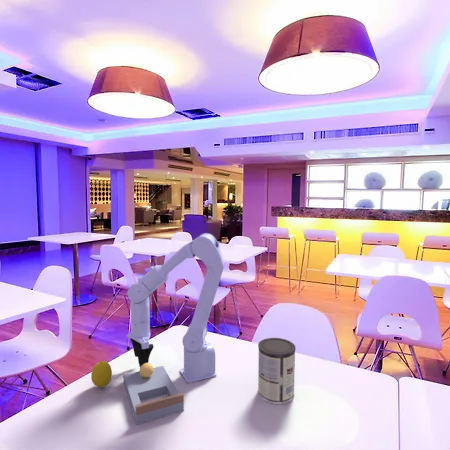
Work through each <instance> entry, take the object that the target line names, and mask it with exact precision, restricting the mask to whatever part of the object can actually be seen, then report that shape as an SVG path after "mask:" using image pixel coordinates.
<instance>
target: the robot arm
mask: <svg viewBox="0 0 450 450" xmlns="http://www.w3.org/2000/svg"><path fill="white" fill-rule="evenodd" d="M195 257H197V258H198V259H200V260H201V262H202V263H203V264H204V265H205V266H206V269H207V271H206V273H205V276H204V277H205V278H204V280H203V283H202V287H201V290H200V294H199V297H198V301H197V304H196V308H195V311H194V314H193V316H192V319H191V322H190V323H189V325H188V327H187V330H186V332H185V334H184V335H183V337H182V345H183V368H180V369H179V372H180V373H181V376H182V377H183V378H184V379H185V382H186V383H188V384H190V383H194V382H199V381H202V380H205V379H209V378H213V377H216V376H217V373H216V351H215V348H214V345H213V344H212V343H211V342H207V341H206V337H207V334H208V325H207V324H208V321H209V317H210V313H211V311H212V309H213V308H212V307H213V304H214V301H215V298H216V294H217V291H218V289H219V284H220V281H221V278H222V274H223V272H224V268H225V261H224V259H223V258H224V256H223V255H222V251H221V247H220V243H219V242H218V240H217V239H216V237H215V236H214V235H213V234H211V233H208V232H205V233H202V234H200V235H199V236H197V237H195V238H194V239H193V240H191V241H190V242H188V243H185V245H183V246H182V247H180V248H179V250H178V251H176V252H175V253H174V254H173V255H172V256H171V257H170V258H169V259H167V260H166V261H165V262H164V263H163V264H162V265H161V264H159V265H158V264H157V265H154V266H153V265H151V266H150V267H149V268H148V271H147V272H146V273H145V274H144V275H143V276H140V277H138V278H137V282H135V283H134V284H131V286H130V287H129V288H128V289H127V298H128V300H129V301H130V333H127V335H126V337H127V339H129V340H130V341H131V344H132V349H133V353H134V356H135V358H137V360H138V361H137V362H138V365H139V368H140V367H141V366H142V365H143V364H144V363H149V360H150V355H151V353H152V351H153V349H154V347H155V346H154V345H153V343H150V338H151V327H150V324H151V320H150V316H151V315H150V314H151V313H150V312H151V311H150V296H151V295H152V293H153V292H155V291H157V289H159V288H160V286H162V285H164V283H165V282H167V281H168V279H169V274H170V272H172V271H173V270H174V269H175V268H176V267H178V266H179V265H181V264H182V263H183V262H184V261H186V259H194V258H195Z"/></svg>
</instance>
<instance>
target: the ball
mask: <svg viewBox="0 0 450 450" xmlns="http://www.w3.org/2000/svg"><path fill="white" fill-rule="evenodd" d="M153 368H154V365H152V364H151V363H150V362H148V363H144V364H143V365H142V366H141V367H140V366H139V371H140V375H141V376H142V377H144V378H147V377H150V376H151V375H152V373H153Z"/></svg>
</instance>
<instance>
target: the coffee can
mask: <svg viewBox="0 0 450 450" xmlns="http://www.w3.org/2000/svg"><path fill="white" fill-rule="evenodd" d="M257 345H258V346H257V347H258V371H257V372H258V380H257V381H258V383H257V384H258V388H257V393H258V396H259V397H260V399H262V400H263V401H265V402H266V403H269V404H271V405H272V404H274V405H286V404H289V403H290V402H292V401H293V400H294V398H295V370H296V369H295V368H296V367H295V366H296V363H295V361H296V359H295V358H296V344H295V343H293V342H292V341H290V340H288V339H285V338H281V337H269V338H264V339H262V340H260V341H259V342H258V343H257Z"/></svg>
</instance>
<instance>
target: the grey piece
mask: <svg viewBox="0 0 450 450" xmlns="http://www.w3.org/2000/svg"><path fill="white" fill-rule="evenodd" d="M122 377H123V380H122V381H123V385H124V389H125V391H126V395H127V400H128V401H129V404H130V407H131V411H132V415H133V417H134V421H135V424H136V425H142V424H144V423H147V422H151V421H155V420H158V419H161V418H165V417H167V416H171V415H174V414H177V413H182V412H184V410H185V408H184V407H185V404H184V403H185V402H184V401H185V399H184V397H185V395H184V393H183V392H179V391H178V389H177V388H176V386H175V384H174V383H173V381H172V379H171V378H170V375H169V374H168V372H167V370H166V369H165V367H164V365H161V366H156V367H153V373H152V375H151V376H150V377H147V378H144V377H142V376H141V375H140V370H138V371H134V372H130V373H126V374H123V375H122ZM165 395H166V397H162V398H157V397H160V396H165ZM152 398H157V399H153V400H150V401H147V402H142V401H145V400H149V399H152Z"/></svg>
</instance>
